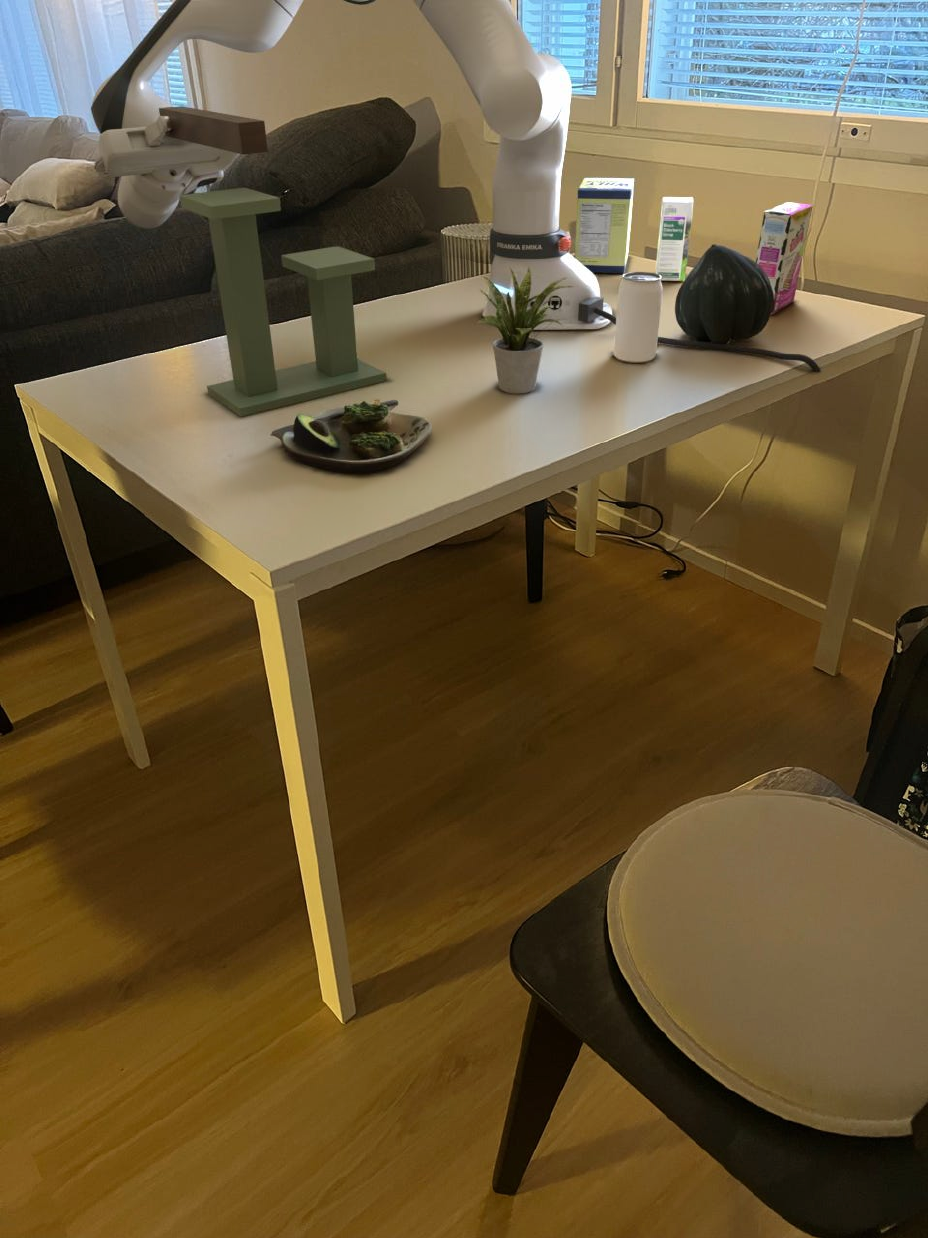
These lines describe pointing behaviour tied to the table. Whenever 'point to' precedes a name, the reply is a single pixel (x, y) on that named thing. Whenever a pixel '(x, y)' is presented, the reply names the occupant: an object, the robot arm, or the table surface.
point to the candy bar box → (783, 249)
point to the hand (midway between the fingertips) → (184, 119)
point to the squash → (724, 298)
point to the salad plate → (354, 437)
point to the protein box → (604, 223)
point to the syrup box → (674, 238)
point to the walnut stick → (217, 130)
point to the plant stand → (249, 315)
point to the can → (638, 317)
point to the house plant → (518, 334)
